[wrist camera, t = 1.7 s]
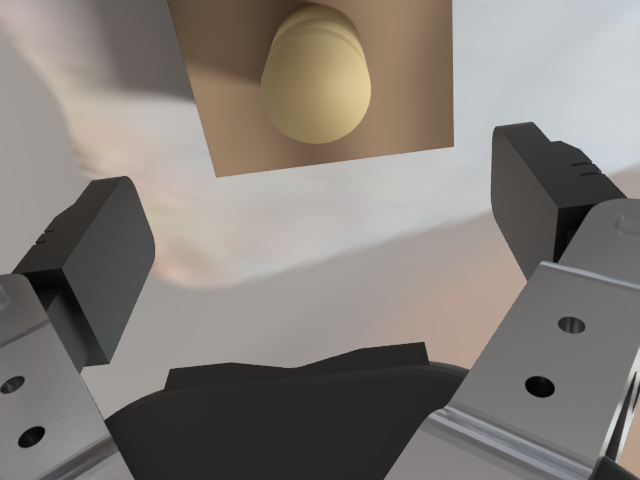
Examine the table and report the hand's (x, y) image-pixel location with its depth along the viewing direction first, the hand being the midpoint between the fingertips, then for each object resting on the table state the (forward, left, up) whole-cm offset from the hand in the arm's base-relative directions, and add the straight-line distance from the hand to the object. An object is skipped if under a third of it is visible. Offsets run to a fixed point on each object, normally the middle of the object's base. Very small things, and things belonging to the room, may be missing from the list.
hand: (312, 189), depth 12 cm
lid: (0, 0, -13) cm, 13 cm away
